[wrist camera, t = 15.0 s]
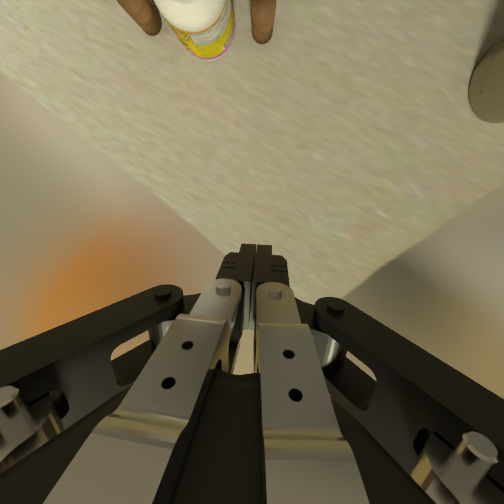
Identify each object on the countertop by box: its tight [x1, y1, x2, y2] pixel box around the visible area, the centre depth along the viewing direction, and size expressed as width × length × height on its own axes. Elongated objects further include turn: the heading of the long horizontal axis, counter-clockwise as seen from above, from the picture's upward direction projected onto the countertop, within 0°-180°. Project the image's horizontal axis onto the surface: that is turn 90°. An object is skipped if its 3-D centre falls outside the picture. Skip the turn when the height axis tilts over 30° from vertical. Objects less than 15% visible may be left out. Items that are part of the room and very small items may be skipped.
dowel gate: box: [117, 0, 276, 44], centre depth 27 cm, size 15×2×6 cm, turn 86°
